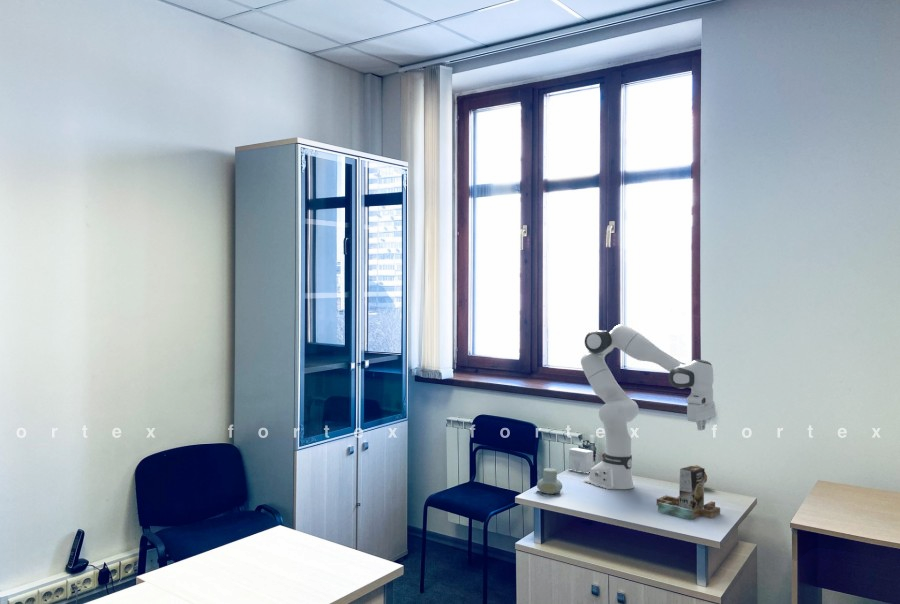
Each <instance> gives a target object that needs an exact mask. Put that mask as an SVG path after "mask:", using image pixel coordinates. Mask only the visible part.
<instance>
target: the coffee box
mask: <svg viewBox="0 0 900 604" xmlns="http://www.w3.org/2000/svg"><path fill="white" fill-rule="evenodd" d="M694 466H695V465H689V466H686V467H682V468H680V469H679V496H678V497H679V505H678V507H682V508H686V509H690V510H695V509H697V508H702V509H704V505H705V483H704V473H706V471H705V469H706V468H704V467H701V466H700V467H701V468H700V467H694Z"/></svg>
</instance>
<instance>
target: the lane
mask: <svg viewBox="0 0 900 604" xmlns="http://www.w3.org/2000/svg"><path fill="white" fill-rule="evenodd" d="M656 506H657V512H658V513H661V512H662V513H661V514H667V515H670V516H674V517H678V518H682V519H686V520H690V521H693V520H694V519H696V517H697V518H698V517H704V518H709V519H713V518H715V517H717V516H719V515H720V514H721V508H720V506H716V502H715V501H710V502H707V503H706V504H705V503H704V507H703V508H697V509H695V510H690V509H686V508H682V507H679V496H676V497H674V496H670V495H666V494H665V495H663V496H661V497H659V498H656Z"/></svg>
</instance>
